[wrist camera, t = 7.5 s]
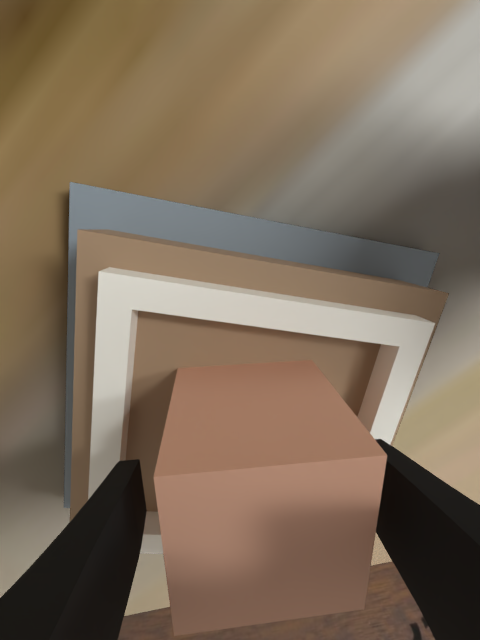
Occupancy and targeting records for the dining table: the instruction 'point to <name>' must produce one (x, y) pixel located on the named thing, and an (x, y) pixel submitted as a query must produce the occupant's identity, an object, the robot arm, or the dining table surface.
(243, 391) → the terracotta cube
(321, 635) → the tissue box cover
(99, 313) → the build base
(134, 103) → the dining table surface
